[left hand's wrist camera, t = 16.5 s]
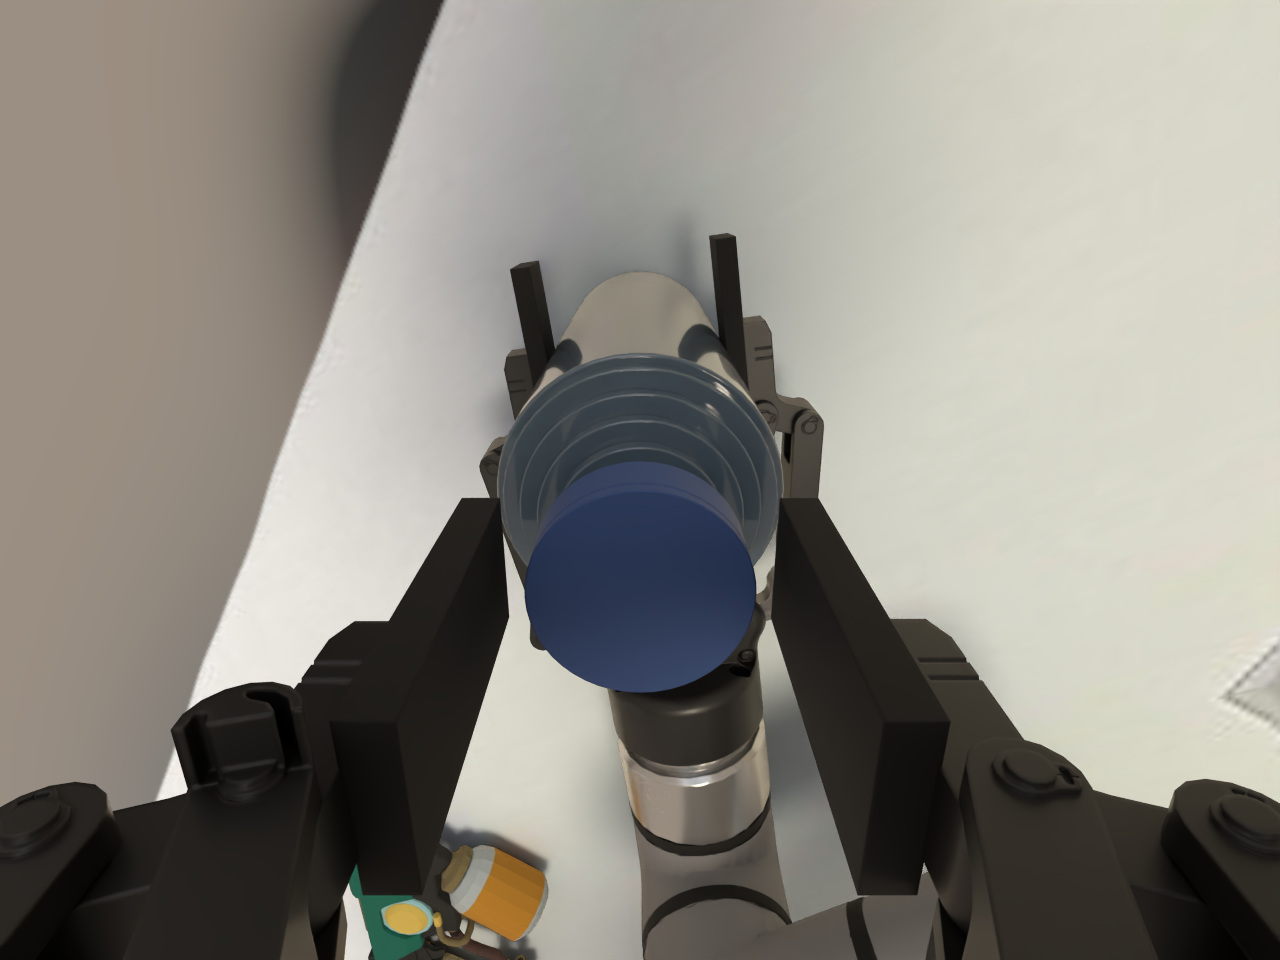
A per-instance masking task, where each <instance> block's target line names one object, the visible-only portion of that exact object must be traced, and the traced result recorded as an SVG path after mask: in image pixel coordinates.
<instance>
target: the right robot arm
mask: <svg viewBox="0 0 1280 960" xmlns="http://www.w3.org/2000/svg"><path fill="white" fill-rule="evenodd" d="M709 239H710V249H711V259H712V269H713V279H714V289H715V299H716V309H717V320H718V330H719V339H720V341H721V343H722V344H723V346H724V348H725V350H726V351H727V353H728V355H729V357H730V358H731V360H732V362H733V364H734V366H735V367H736V369H737V371H738V373H739V374H740V376H741V378H742V380H743V382H744V383H745V385H746V387H747V389H748V390H749V392H750V394H751V396H752V398H753V399H754V401H755V403H756V405H757V406H758V408H759V410H760V412H761V413H762V415H763V417H764V419H765V421H766V422H767V424H768V426H769V428H770V430H771V432H772V434H773V436H774V433H775V431H779V432H783V434H782V450H781V464H782V470H783V498H818V492H819V480H820V467H821V455H822V443H823V431H824V423H823V420H822V418H821V417H820V415H819V414H818V413H817V412H816V410H815V409H814V408H813V407H812V406H811V404H810V403H809V402H808V401H807V400H805V399H804V398H799V397H798V398H789V397H784V396H781V395H779V394H777V393H776V389H775V376H774V362H773V348H772V334H771V331H770V329H769V327H768V325H767V323H766V321H765V320H764V319H763V318H762V317H761V316H753V317H746V318H743V315H742V304H741V292H740V280H739V269H738V257H737V246H736V236H733V235H731V234H728V233H725V234H718V235H712V236H709ZM510 272H511V277H512V282H513V287H514V292H515V297H516V302H517V307H518V312H519V318H520V323H521V328H522V333H523V338H524V343H525V348H524V349H517V350H512V351H511V352H510V353H509V355H508V356H507V357H506V362H505V368H504V371H505V376H506V381H507V385H508V390H509V395H510V400H511V404H512V409H513V414H514V419H515V420H516V419H517V417H518V415H519V413H520V412H521V410H522V408H523V406H524V404H525V403H526V401H527V399H528V397H529V395H530V394H531V392H532V390H533V388H534V387H535V385H536V383H537V381H538V379H539V378H540V376H541V374H542V372H543V370H544V369H545V367H546V365H547V363H548V361H549V360H550V358H551V356H552V354H553V353H554V351H555V347H554V341H553V336H552V330H551V325H550V320H549V314H548V309H547V303H546V298H545V292H544V287H543V281H542V276H541V270H540V265H539V261H534V262H527V263H521V264H519V265H517V266H515V267H514V268H512V269H510ZM507 436H508V435H506V436H505V437H499V438H497V439H495V440H494V441H493V442H492V443H491V445H490V447H489V448H488V450H487V452H486V453H485V455H484V457H483V458H482V460H481V462H480V466H479V467H480V472H481V475H482V477H483V480H484V483H485V485H486V488H487V491H488V493H489V496H490V498H498V490H497V479H498V468H499V462H500V458H501V454H502V449H503V446H504V444H505V441H506V439H507ZM502 529H503V534H504V536H505V539H506V542H507V544H508V547H509V550H510V552H511V555H512V558H513V560H514V563H515V566H516V568H517V571H518V574H519V576H520V579H521V582H522V584H523V587H524V590H525V579H526V572H527V568H528V567H527V566H526V564H525V563H524V562H523V560H522V559H521V557H520V556H519V554H518V553H517V552H516V550H515V549H514V547H513V545H512V543H511V541H510V539H509V537H508V535H507V532H506V529H505V526H504V524H503V521H502ZM777 529H778V523H777ZM776 542H777V532H776ZM774 569H775V566H773V567H772V568H771V570H770V571H769V573H768V575H767V585H766V588H765V589H764V590H763V591H762V592H761V593H759V594H756V602H755V609H754V613H753V616H752V620H751V623H750V625H749V627H748V629H747V632H746V634H745V635H744V637H743V639H742V640H741V642H740V643H739V645H738V646H737V648H736V649H735V650H734V651H733V652H732V654H731V655H730V656H729V657H728V658H727V659H726V660H725V661H724V662H722V663H721V664H720V665H719V666H718V667H716V668H715V669H714V670H712V671H711V672H709V673H708V674H706V675H704V676H703V677H701V678H699V679H697V680H695V681H693V682H690V683H688V684H685V685H683V686H679V687H676V688H672V689H669V690H663V691H657V692H643V693H639V692H624V691H618V690H612V689H609V688H608V693H609V698H610V704H611V709H612V714H613V720H614V725H615V729H616V732H617V735H618V747H619V752H620V757H621V762H622V767H623V772H624V777H625V782H626V786H627V791H628V796H629V803H630V807H631V811H632V816H633V819H634V825H635V832H636V839H637V845H638V852H639V859H640V867H641V881H642V947H643V958H644V960H925V957H926V951H927V946H928V941H929V936H930V931H931V927H932V922H933V917H934V912H935V907H936V902H937V898H938V893H937V891H936V889H935V886H934V884H933V882H932V879H931V877H930V875H929V872H926V873H924V874H922V875H921V879H920V884H919V890H918V895H870V896H867V897H861V898H858V899H856V900H853V901H851V902H847V903H844V904H842V905H839V906H836V907H834V908H831V909H828V910H826V911H823V912H821V913H818V914H815V915H813V916H810V917H807V918H805V919H802V920H800V921H797V922H794V923H792V921H791V919H790V915H789V910H788V905H787V901H786V896H785V891H784V886H783V882H782V877H781V872H780V867H779V861H778V855H777V848H776V839H775V832H774V824H773V817H772V809H771V801H770V799H771V794H770V773H769V764H768V754H767V744H766V735H765V725H764V720H763V718H762V715H763V703H762V693H761V682H760V672H759V661H758V651H757V645H758V640H759V637H760V635H761V633H762V632H763V630H764V627H765V623H766V621H767V620H770V619H771V608H772V595H773V582H774ZM530 641H531V644H532V645H533V647H535V648H537V649H539V650H546V649H545V648H544V647H543V645H542V643H541V642H540V640H539V639H538V637H537V636H536V634H535V632H534V630H533V627H532V625H531V624H530Z"/></svg>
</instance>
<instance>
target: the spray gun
mask: <svg viewBox="0 0 1280 960" xmlns="http://www.w3.org/2000/svg"><path fill="white" fill-rule="evenodd" d="M440 873H441V875H442V881H441V876H440ZM349 885H350V889H351V892H352V894H353V895H354V896H355V897H356V898H358V899H359V903H360V907H361V911H362V915H363V919H364V922H365V926H366V930H367V931H368V934H369V938H370V942H371V946H372V949H371V951H370V954H369V956H368V959H369V960H465V959H462V958H460V957H457V956H455V955H452V954H449V953H445V951H446V948H447V947H445V946H439V947H436V946H433V945H432V944H431V943H430V942H428V941H427V940H426V939H425V938H426V937H428V936H431V935H433V934H435V933H437V935H438V938H439V940H440V941H441V942H442V943H444V944H446V945H448V946H452V947H462V948H464V949H465V950H467V951H470V952H472V953H474V954H476V955H479V956H482V957H485V958H488V959H491V960H509V958H508V957H507V956H506V955H504V954H503V953H502V952H501V951H500V950H498V949H496V948H493V947H490V946H487V945H484V944H481V943H479V942H477V941H474V940H472V939H471V938H470V937H471V935H472V932H473V930H474V923H475V921H476V922H478V923H480V924H481V925H483V926H485V927H487V928H489V929H491V930H493V931H494V932H496V933H498V934H500V935H502V936H504V937H506V938H508V939H509V940H512V941H517V940H519V939H520V938H522V937H524V936H525V935H527V934H528V933H530V932H531V930H532V929H533V928H534V927H535V925H536V924H537V922H538V920H539V919H540V917H541V914H542V912H543V910H544V907H545V904H546V901H547V899H548V885H547V880H546V877H545V875H544V873H543V872H541V871H539V870H537V869H535V868H533V867H531V866H529V865H527V864H526V863H524V862H522V861H520V860H518V859H516V858H514V857H512V856H510V855H508V854H506V853H504V852H503V851H501V850H499V849H497V848H495V847H491V846H486V845H479V846H477V847H475V848H472V849H471V848H470V847H468V846H466V845H463V846H461V847H460V848H459V849H458V850H457V851H455V852H453V853H451V852H450V851H449V850H448V849H447V848H445V847H444V846H442V845H440V844H439V843H438V846H437V850H436V853H435V856H434V859H433V862H432V866H431V869H430V872H429V875H428V878H427V882H426V885H425V888H424V891H423V894H422V895H362V890H361V884H360V879H359V874H358V869H357V864H356V866H355V869H354V871H353V874H352V876H351V878H350V881H349ZM462 919H467V920H468V925H467V929H466V932H465V935H464V934H463V933H462V931H461V930H460V924H461V921H462ZM444 931H448V932H449V933H450V935H451V937H449V936H447V935H446V934H445V933H444ZM515 960H526V958H525V957H524V956H523V955H518V956H517V957H516V959H515Z"/></svg>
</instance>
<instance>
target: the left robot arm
mask: <svg viewBox="0 0 1280 960" xmlns="http://www.w3.org/2000/svg"><path fill="white" fill-rule="evenodd" d="M508 619H509V608H508V595H507V582H506V569H505V556H504V542H503V529H502V516H501V503H500V498H462V499H461V500H460V502H459V504H458V505H457V507H456V509H455V510H454V512H453V514H452V515H451V517H450V519H449V521H448V522H447V524H446V526H445V527H444V529H443V531H442V532H441V534H440V536H439V537H438V539H437V541H436V542H435V544H434V546H433V547H432V549H431V551H430V553H429V554H428V556H427V558H426V559H425V561H424V563H423V564H422V566H421V568H420V569H419V571H418V573H417V574H416V576H415V578H414V579H413V581H412V583H411V585H410V586H409V588H408V590H407V591H406V593H405V595H404V596H403V598H402V600H401V601H400V603H399V605H398V606H397V608H396V610H395V611H394V613H393V615H392V617H391V618H390V620H389V621H354V622H353V623H352V624H350V625H349V626H347V627H346V628H344V629H343V630H342V631H340V632H339V633H337V634H336V635H335V636H333V637H332V638H330V639H329V640H328V642H327V643H326V645H325V646H324V647H323V649H322V650H321V652H320V653H319V654H318V656H317V657H316V659H315V660H314V665H311V666H310V667H309V669H308V670H307V671H306V673H305V674H304V676H303V677H302V682H301V683H298V684H297V686H296V687H295V689H293V688H292V687H291V686H288V685H284V684H280V683H275V682H260V683H248V684H244V685H240V686H236V687H232V688H229V689H225V690H223V691H221V692H218V693H216V694H214V695H212V696H210V697H208V698H205V699H203V700H201V701H200V702H199V703H197V704H196V705H195V706H193V707H192V708H190V709H189V710H188V711H186V712H185V713H184V714H182V716H181V717H180V718H179V720H178V721H177V722H176V724H175V725H174V726H173V728H172V729H171V733H172V737H173V740H174V743H175V747H176V750H177V754H178V757H179V761H180V764H181V767H182V771H183V774H184V778H185V781H186V785H187V788H188V790H187V793H185V794H182V795H178V796H175V797H172V798H168V799H164V800H160V801H155V802H151V803H147V804H142V805H138V806H134V807H129V808H125V809H120V810H116V811H112V808H111V806H110V803H109V800H108V797H107V794H106V793H105V792H104V791H103V790H101V789H100V788H99V787H98V786H96V785H95V784H87V783H80V782H72V783H65V784H59V785H52V786H48V787H45V788H42V789H39V790H36V791H34V792H31V793H28V794H26V795H23V796H20V797H18V798H16V799H15V800H13V801H11V802H9V803H7V804H5V805H3V806H2V807H0V960H344V955H345V944H346V933H347V920H346V913H345V907H344V902H343V898H342V897H343V895H344V892H345V890H346V888H347V885H348V883H349V881H350V878H351V876H352V874H353V871H354V869H355V866H356V864H357V869H358V874H359V879H360V884H361V890H362V895H422V894H423V891H424V888H425V885H426V882H427V878H428V875H429V872H430V869H431V866H432V862H433V859H434V856H435V853H436V850H437V846H438V843H439V840H440V837H441V834H442V830H443V827H444V824H445V821H446V818H447V814H448V811H449V808H450V805H451V802H452V798H453V795H454V792H455V789H456V786H457V782H458V779H459V776H460V773H461V770H462V766H463V763H464V760H465V757H466V754H467V750H468V747H469V744H470V741H471V738H472V734H473V731H474V728H475V725H476V722H477V718H478V715H479V712H480V709H481V706H482V702H483V699H484V696H485V693H486V690H487V686H488V683H489V680H490V677H491V674H492V670H493V667H494V664H495V661H496V657H497V654H498V651H499V648H500V645H501V641H502V638H503V635H504V632H505V629H506V625H507V622H508ZM771 619H772V622H773V625H774V629H775V632H776V635H777V638H778V642H779V645H780V648H781V651H782V654H783V658H784V661H785V664H786V667H787V670H788V674H789V677H790V680H791V683H792V686H793V690H794V693H795V696H796V699H797V702H798V706H799V709H800V712H801V715H802V718H803V722H804V725H805V728H806V731H807V734H808V738H809V741H810V744H811V747H812V750H813V754H814V757H815V760H816V763H817V766H818V770H819V773H820V776H821V779H822V782H823V786H824V789H825V792H826V795H827V798H828V802H829V805H830V808H831V811H832V814H833V818H834V821H835V824H836V827H837V830H838V834H839V837H840V840H841V843H842V846H843V850H844V853H845V856H846V859H847V862H848V866H849V869H850V872H851V875H852V878H853V882H854V885H855V888H856V891H857V895H918V890H919V884H920V879H921V874H922V869H923V864H924V863H925V865H926V868H927V870H928V872H929V875H930V877H931V879H932V882H933V884H934V886H935V889H936V891H937V893H938V898H937V902H936V907H935V912H934V917H933V922H932V927H931V931H930V936H929V941H928V946H927V951H926V957H925V960H1280V803H1278V802H1276V801H1274V800H1272V799H1271V798H1269V797H1267V796H1265V795H1263V794H1261V793H1259V792H1256V791H1253V790H1251V789H1248V788H1245V787H1242V786H1239V785H1236V784H1233V783H1229V782H1223V781H1216V780H1210V779H1201V780H1194V781H1186V782H1185V783H1183V784H1182V785H1181V786H1180V787H1178V788H1177V789H1176V790H1175V791H1174V794H1173V797H1172V800H1171V803H1170V805H1169V808H1164V807H1160V806H1155V805H1151V804H1147V803H1142V802H1138V801H1134V800H1129V799H1125V798H1121V797H1116V796H1112V795H1108V794H1105V793H1102V792H1098V791H1095V790H1093V789H1092V787H1091V786H1090V784H1089V783H1088V781H1087V779H1086V778H1085V776H1084V775H1083V773H1082V772H1081V771H1080V770H1079V769H1078V768H1076V767H1075V766H1074V765H1073V764H1072V763H1070V762H1069V761H1068V760H1067V759H1066V758H1064V757H1063V756H1061V755H1059V754H1058V753H1056V752H1054V751H1052V750H1050V749H1048V748H1046V747H1044V746H1042V745H1040V744H1036V743H1033V742H1029V741H1026V740H1024V739H1023V738H1022V736H1021V735H1020V733H1019V732H1018V730H1017V729H1016V728H1015V726H1014V725H1013V723H1012V722H1011V721H1010V719H1009V718H1008V716H1007V715H1006V714H1005V712H1004V711H1003V709H1002V708H1001V707H1000V705H999V704H998V702H997V701H996V699H995V698H994V697H993V695H992V694H991V692H990V691H989V690H988V688H987V687H986V685H985V684H984V683H983V681H982V680H979V675H978V674H977V673H976V671H975V670H974V668H973V667H972V666H971V664H970V663H967V661H966V657H965V656H964V654H963V653H962V651H961V650H960V649H959V647H958V646H957V644H956V643H955V642H954V640H953V639H952V637H950V636H949V635H948V634H946V633H945V632H943V631H942V630H940V629H939V628H938V627H936V626H935V625H933V624H932V623H931V622H929V621H928V620H926V619H890V618H889V617H888V615H887V613H886V611H885V610H884V608H883V606H882V605H881V603H880V601H879V600H878V598H877V596H876V595H875V593H874V591H873V590H872V588H871V586H870V585H869V583H868V581H867V579H866V578H865V576H864V574H863V573H862V571H861V569H860V568H859V566H858V564H857V563H856V561H855V559H854V558H853V556H852V554H851V553H850V551H849V549H848V547H847V546H846V544H845V542H844V541H843V539H842V537H841V536H840V534H839V532H838V531H837V529H836V527H835V526H834V524H833V522H832V521H831V519H830V517H829V515H828V514H827V512H826V510H825V509H824V507H823V505H822V504H821V502H820V500H819V499H818V498H780V503H779V516H778V529H777V542H776V555H775V569H774V582H773V595H772V608H771Z"/></svg>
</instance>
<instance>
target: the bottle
mask: <svg viewBox="0 0 1280 960" xmlns="http://www.w3.org/2000/svg"><path fill="white" fill-rule="evenodd" d="M638 461H642V462H656V463H661V464H667V465H671V466H674V467H677V468H680V469H683V470H685V471H687V472H690V473H692V474H694V475H696V476H697V477H699V478H701V479H702V480H704V481H705V482H707V483H708V484H709V485H711V486H712V487H713V488H714V489H715V490H717V491H718V492H719V493H720V495H721V496H722V497H723V498H724V499H725V500H726V501H727V503H728V504H729V505H730V507H731V508H732V510H733V511H734V513H735V515H736V517H737V519H738V521H739V523H740V526H741V529H742V532H743V536H744V539H745V542H746V545H747V549H748V552H749V555H750V558H751V562H752V565H753V566H754V565H755V564H756V562H757V561H758V560H759V558H760V557H761V556H762V554H763V553H764V551H765V549H766V547H767V546H768V544H769V542H770V540H771V538H772V536H773V533H774V531H775V528H776V526H777V523H778V516H779V503H780V498H783V470H782V464H781V459H780V454H779V451H778V448H777V445H776V442H775V439H774V436H773V434H772V432H771V430H770V428H769V426H768V424H767V422H766V421H765V419H764V417H763V415H762V413H761V412H760V410H759V408H758V406H757V405H756V403H755V401H754V399H753V398H752V396H751V394H750V392H749V390H748V389H747V387H746V385H745V383H744V382H743V380H742V378H741V376H740V374H739V373H738V371H737V369H736V367H735V366H734V364H733V362H732V360H731V358H730V357H729V355H728V353H727V351H726V350H725V348H724V346H723V344H722V343H721V341H720V339H719V337H718V335H717V334H716V332H715V330H714V328H713V327H712V325H711V323H710V321H709V319H708V318H707V316H706V314H705V312H704V311H703V309H702V307H701V305H700V304H699V303H698V301H697V300H696V298H695V297H694V296H693V295H692V294H691V293H690V292H689V291H688V290H687V289H686V288H685V287H684V286H682V285H681V284H679V283H678V282H676V281H675V280H673V279H671V278H668V277H666V276H664V275H660V274H657V273H652V272H638V271H637V272H628V273H624V274H620V275H617V276H614V277H612V278H609V279H608V280H606V281H604V282H602V283H601V284H599V285H598V286H597V287H595V288H594V289H593V290H592V291H591V292H590V293H589V294H588V295H587V296H586V298H585V299H584V300H583V301H582V303H581V304H580V306H579V308H578V310H577V311H576V313H575V315H574V317H573V319H572V320H571V322H570V324H569V326H568V328H567V329H566V331H565V333H564V335H563V336H562V338H561V340H560V342H559V344H558V345H557V347H556V349H555V351H554V353H553V354H552V356H551V358H550V360H549V361H548V363H547V365H546V367H545V369H544V370H543V372H542V374H541V376H540V378H539V379H538V381H537V383H536V385H535V387H534V388H533V390H532V392H531V394H530V395H529V397H528V399H527V401H526V403H525V404H524V406H523V408H522V410H521V412H520V413H519V415H518V417H517V419H516V420H515V422H514V424H513V426H512V428H511V429H510V431H509V434H508V436H507V439H506V441H505V444H504V446H503V449H502V454H501V458H500V462H499V468H498V479H497V490H498V498H500V503H501V516H502V521H503V524H504V526H505V529H506V532H507V535H508V537H509V539H510V541H511V543H512V545H513V547H514V549H515V550H516V552H517V553H518V554H519V556H520V557H521V559H522V560H523V562H524V563H525V564H526V566H527V567H528V565H529V562H530V558H531V555H532V552H533V548H534V545H535V542H536V539H537V535H538V532H539V529H540V526H541V523H542V521H543V519H544V517H545V515H546V513H547V511H548V510H549V508H550V507H551V505H552V504H553V502H554V501H555V500H556V499H557V498H558V497H559V495H560V494H561V493H562V492H563V491H564V490H566V489H567V488H568V487H569V486H570V485H571V484H573V483H574V482H576V481H577V480H579V479H580V478H582V477H583V476H585V475H587V474H589V473H591V472H593V471H595V470H598V469H601V468H604V467H607V466H610V465H614V464H619V463H625V462H638Z"/></svg>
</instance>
